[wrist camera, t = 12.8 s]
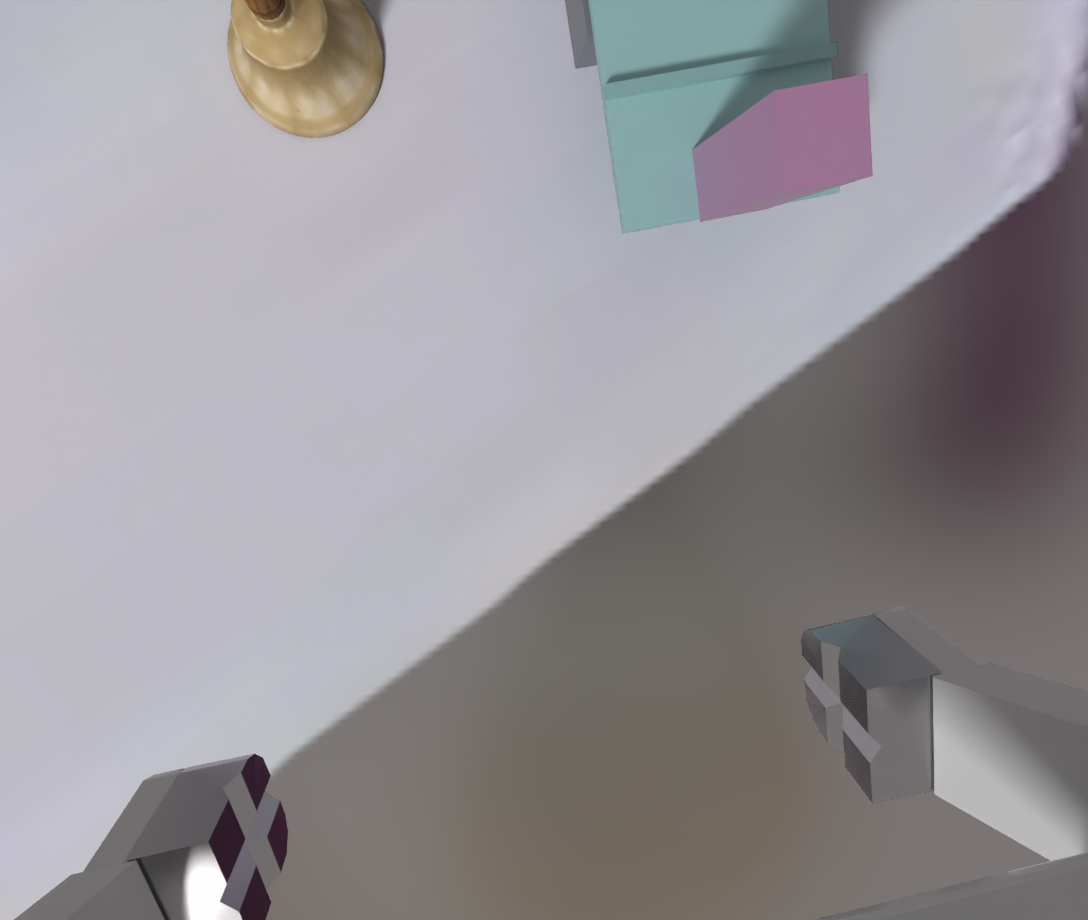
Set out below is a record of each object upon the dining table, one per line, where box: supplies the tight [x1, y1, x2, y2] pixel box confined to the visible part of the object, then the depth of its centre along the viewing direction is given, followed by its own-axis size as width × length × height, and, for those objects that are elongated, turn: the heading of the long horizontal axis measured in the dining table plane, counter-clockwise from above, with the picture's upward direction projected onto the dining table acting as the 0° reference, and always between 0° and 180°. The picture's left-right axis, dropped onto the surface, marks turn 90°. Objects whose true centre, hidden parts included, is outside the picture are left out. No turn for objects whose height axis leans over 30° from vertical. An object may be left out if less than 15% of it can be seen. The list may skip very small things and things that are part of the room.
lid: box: [588, 0, 873, 234], centre depth 28 cm, size 15×12×11 cm
